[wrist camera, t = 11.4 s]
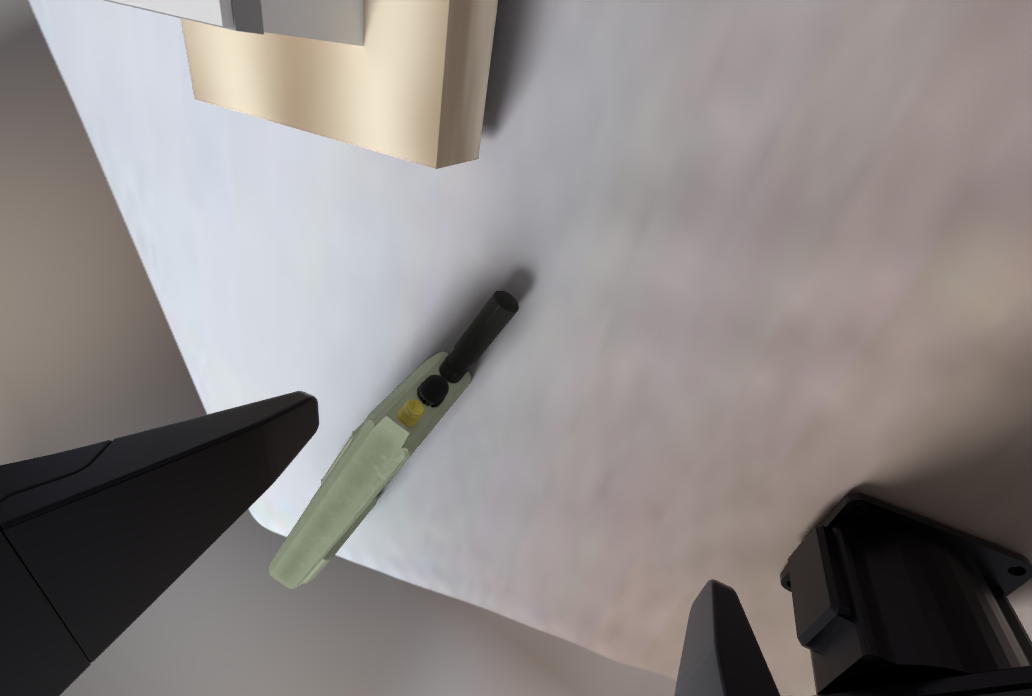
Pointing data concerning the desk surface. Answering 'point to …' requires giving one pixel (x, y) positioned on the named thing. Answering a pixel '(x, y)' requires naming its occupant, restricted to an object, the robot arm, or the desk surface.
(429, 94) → the cream rectangular block
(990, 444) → the desk surface
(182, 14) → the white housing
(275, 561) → the handheld radio
